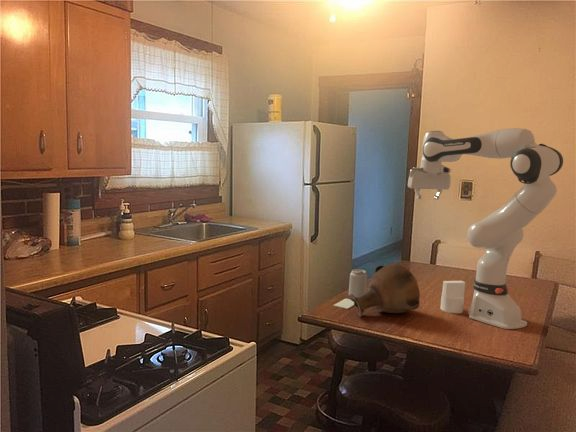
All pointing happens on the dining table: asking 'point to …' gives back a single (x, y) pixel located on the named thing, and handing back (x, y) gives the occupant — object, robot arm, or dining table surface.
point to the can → (358, 283)
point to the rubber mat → (345, 304)
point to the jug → (390, 291)
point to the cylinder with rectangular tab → (453, 296)
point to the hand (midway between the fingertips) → (427, 199)
